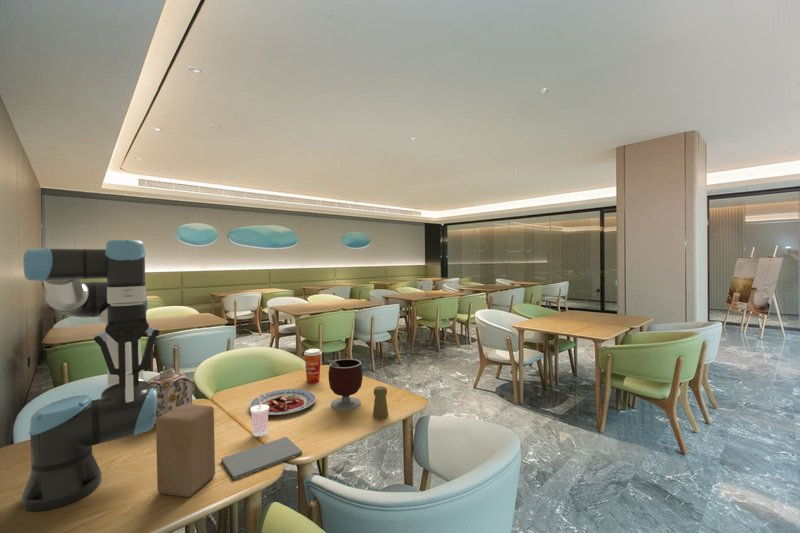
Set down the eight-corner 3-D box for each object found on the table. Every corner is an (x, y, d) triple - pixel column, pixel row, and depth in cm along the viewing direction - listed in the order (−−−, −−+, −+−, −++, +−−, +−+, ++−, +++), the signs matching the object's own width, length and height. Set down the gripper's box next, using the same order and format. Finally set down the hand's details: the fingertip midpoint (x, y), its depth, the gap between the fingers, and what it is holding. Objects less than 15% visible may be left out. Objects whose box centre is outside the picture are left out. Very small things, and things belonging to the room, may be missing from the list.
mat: (233, 480, 100) (233, 476, 100) (221, 461, 109) (221, 458, 109) (302, 454, 113) (302, 451, 113) (286, 439, 122) (286, 436, 122)
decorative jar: (141, 423, 134) (140, 374, 134) (169, 410, 146) (168, 365, 145) (167, 427, 131) (166, 377, 131) (193, 413, 142) (192, 368, 142)
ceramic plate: (279, 425, 132) (279, 417, 132) (236, 410, 146) (236, 402, 146) (328, 401, 154) (328, 394, 154) (287, 390, 168) (287, 383, 168)
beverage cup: (270, 428, 130) (270, 389, 129) (268, 436, 124) (267, 395, 123) (252, 430, 128) (251, 390, 128) (249, 438, 122) (248, 397, 122)
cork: (391, 415, 140) (391, 386, 140) (380, 420, 136) (380, 391, 135) (380, 410, 144) (380, 383, 144) (369, 415, 140) (369, 387, 139)
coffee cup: (301, 383, 176) (301, 352, 176) (308, 377, 184) (308, 348, 184) (318, 384, 175) (317, 353, 174) (324, 378, 183) (324, 348, 183)
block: (189, 499, 92) (187, 420, 91) (155, 494, 94) (153, 417, 93) (216, 476, 102) (215, 405, 101) (185, 472, 104) (184, 402, 103)
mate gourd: (350, 395, 161) (350, 350, 160) (369, 404, 150) (369, 356, 150) (319, 404, 150) (318, 356, 150) (337, 415, 140) (336, 363, 140)
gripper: (92, 307, 81) (94, 412, 82) (161, 302, 90) (163, 397, 90) (91, 304, 87) (94, 402, 88) (156, 300, 96) (158, 389, 96)
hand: (129, 400), depth 89 cm, fingers closed
